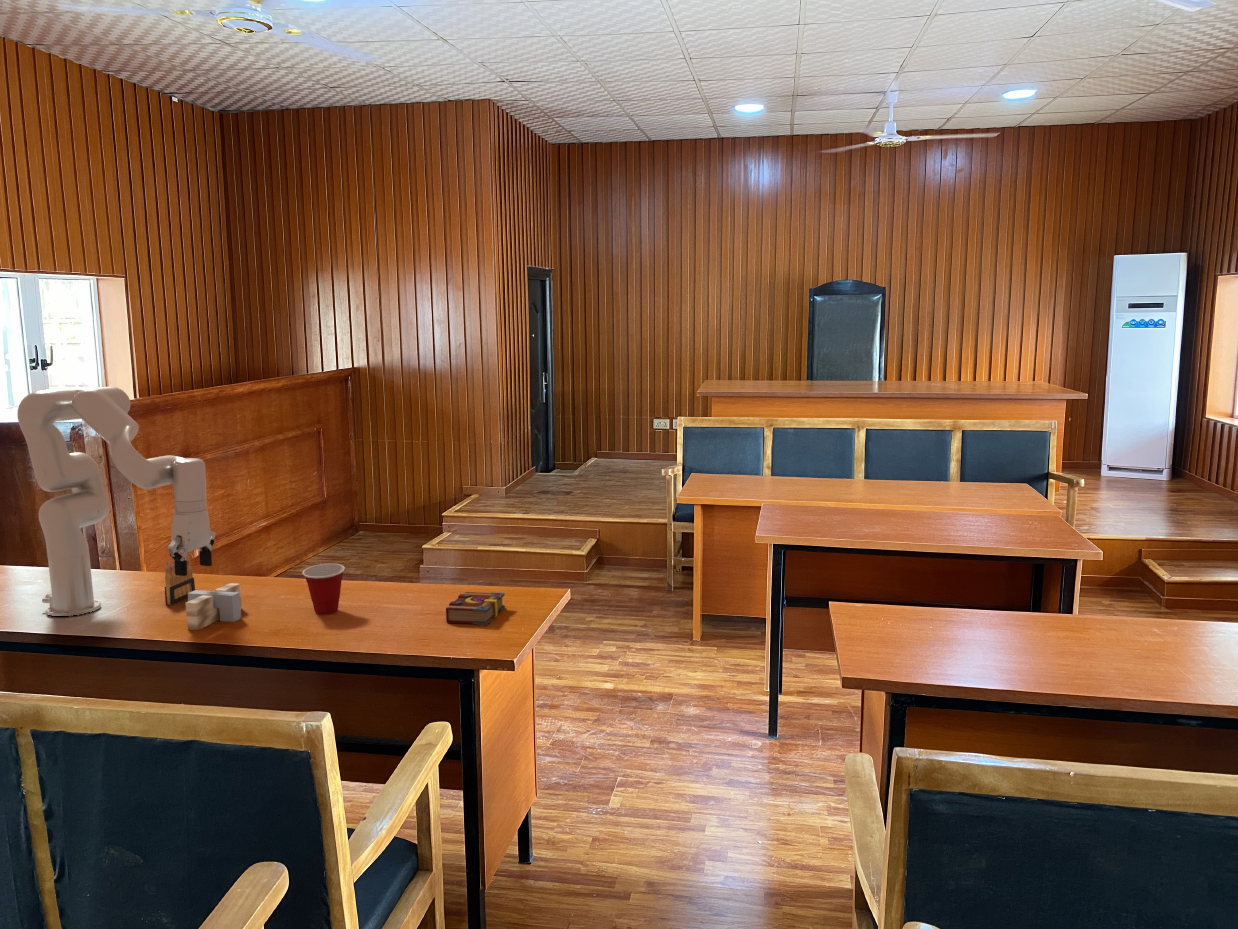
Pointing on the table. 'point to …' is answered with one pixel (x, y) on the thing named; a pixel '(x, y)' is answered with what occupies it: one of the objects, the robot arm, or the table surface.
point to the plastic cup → (324, 586)
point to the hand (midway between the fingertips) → (193, 570)
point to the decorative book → (475, 608)
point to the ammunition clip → (178, 583)
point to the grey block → (222, 603)
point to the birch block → (206, 608)
